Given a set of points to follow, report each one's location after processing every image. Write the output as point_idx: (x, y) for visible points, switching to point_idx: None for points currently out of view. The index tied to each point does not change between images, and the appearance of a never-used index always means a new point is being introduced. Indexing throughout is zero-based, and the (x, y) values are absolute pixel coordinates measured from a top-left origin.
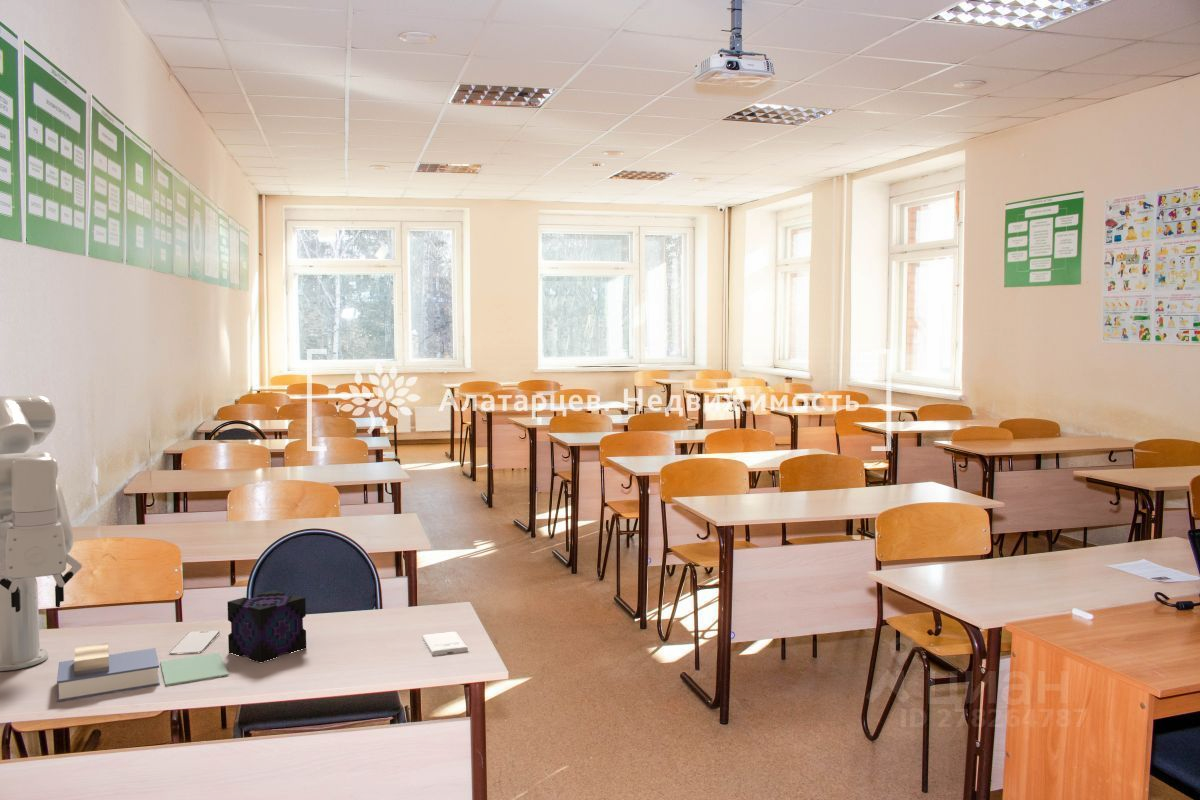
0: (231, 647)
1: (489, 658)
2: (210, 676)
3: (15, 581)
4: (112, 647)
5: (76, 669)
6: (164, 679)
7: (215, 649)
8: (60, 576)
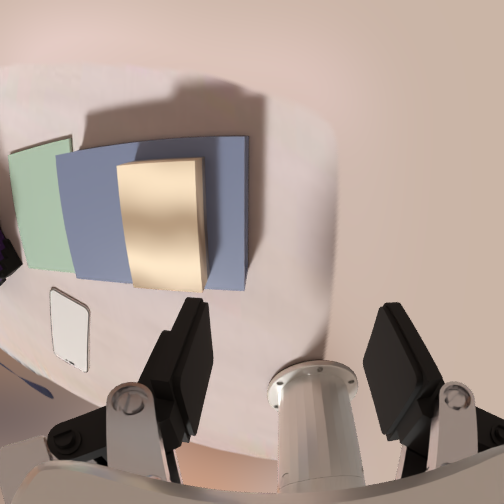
0: (12, 262)
1: None
2: (22, 152)
3: (460, 447)
4: None
5: (196, 158)
6: None
7: (40, 292)
8: (111, 453)
